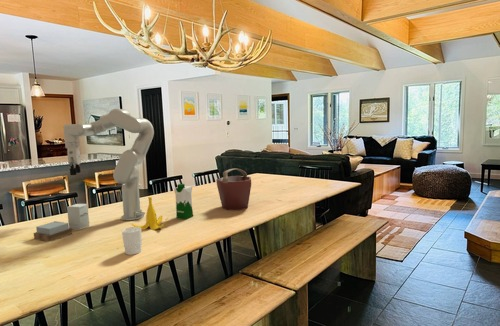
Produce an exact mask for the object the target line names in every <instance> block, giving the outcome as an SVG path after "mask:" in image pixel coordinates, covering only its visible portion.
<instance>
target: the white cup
mask: <svg viewBox="0 0 500 326" xmlns="http://www.w3.org/2000/svg"><path fill="white" fill-rule="evenodd" d="M121 235H122V242H123V243H122V244H123V247H124V253H125V255H127V256H129V255H130V256H131V255H137V254H140V253H141V252H142V251H143V250H142V249H143V248H142V244H143V243H142V240H143V239H142V238H143V237H142V229H141V228H140V227H134V226H130V227H126V228H124V229H122V231H121Z"/></svg>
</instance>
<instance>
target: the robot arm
mask: <svg viewBox="0 0 500 326" xmlns="http://www.w3.org/2000/svg"><path fill="white" fill-rule="evenodd" d="M115 127H116V128H117V127H118V128H120V129H123V130H125V131H127V132H129V133H130V134H138V135H137V136H136V138H135V140H134V141H133V145H132V147H131V148H130V149H126V150H125V151H123V152H122V154H121V155H120V156H119V159H118V161H117V163H116V166H115V168H114V171H113V175H112V177H113V180H114V181H115V182H116V183H118V184H119V185H121V195H122V196H121V198H122V208H123V209H122V210H123V215H121V217H120V219H121V220H123V221H134V220H135V221H136V220H139V219H142V218H144V215H145V214H146V212H144V211H143V210H142V209H141V201H140V199H141V198H140V188H139V187H140V185H139V184H140V183H139V182H140V170H139V169H138V167H137V166H138V165H140V164H142V163H143V162H144V161H145V157H146V156H147V153H148V151H149V149H150V146H151V144H152V140H153V138H154V135H155V130H154V127H153V124H152V122H151V121H149V120H148V119H147V118H143V117H134V116H132V115H131V113H130V112H129V110H126V109H123V108H113V109H111V110H110V111H109V112H108V113H106V114H103V115H101V116H100V117H99V119H98V120H96V121H92V122H88V123H87V122H86V123H85V122H84V123H80V122H79V123H75V124H73V123H72V124H71V123H69V124H68V123H67V124H64V125H63V127H62V128H63V135H64V144H65V149H67V161H68V165H69V174H70V176H76V175H77V174H81V163H82V157H81V152H80V147H81V146H80V137H92V136H94V135H98V134H101V133H104V132H106V131H107V130H110V129H113V128H115Z"/></svg>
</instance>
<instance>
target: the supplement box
mask: <svg viewBox="0 0 500 326" xmlns="http://www.w3.org/2000/svg"><path fill="white" fill-rule="evenodd" d="M66 210H67V220H68V222H67V223H68V226H69V228H72V231H74V230H75V231H78V230H79V231H81V230H83V229H85V228H87V227H89V226H90V217H89V207H88V203H75V204H73V205H69V206H67V207H66Z"/></svg>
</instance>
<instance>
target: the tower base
mask: <svg viewBox="0 0 500 326" xmlns="http://www.w3.org/2000/svg"><path fill="white" fill-rule="evenodd" d="M71 235H73V230H72V228H69V229H67V230H64V231H61V232H58V233H55V234H52V235H47V234H42V233H37V231H36V232H34V233H33V238H34V240H36V241H37V240H38V241H44V242H49V243H51V242H53V241H56V240H60V239H62V238H65V237H68V236H71Z"/></svg>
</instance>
